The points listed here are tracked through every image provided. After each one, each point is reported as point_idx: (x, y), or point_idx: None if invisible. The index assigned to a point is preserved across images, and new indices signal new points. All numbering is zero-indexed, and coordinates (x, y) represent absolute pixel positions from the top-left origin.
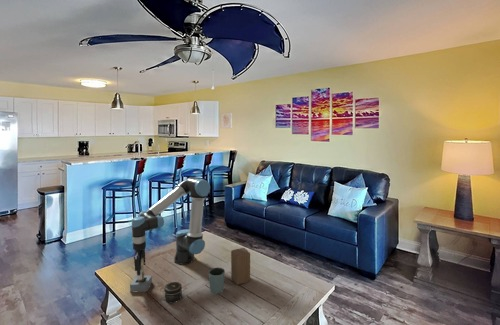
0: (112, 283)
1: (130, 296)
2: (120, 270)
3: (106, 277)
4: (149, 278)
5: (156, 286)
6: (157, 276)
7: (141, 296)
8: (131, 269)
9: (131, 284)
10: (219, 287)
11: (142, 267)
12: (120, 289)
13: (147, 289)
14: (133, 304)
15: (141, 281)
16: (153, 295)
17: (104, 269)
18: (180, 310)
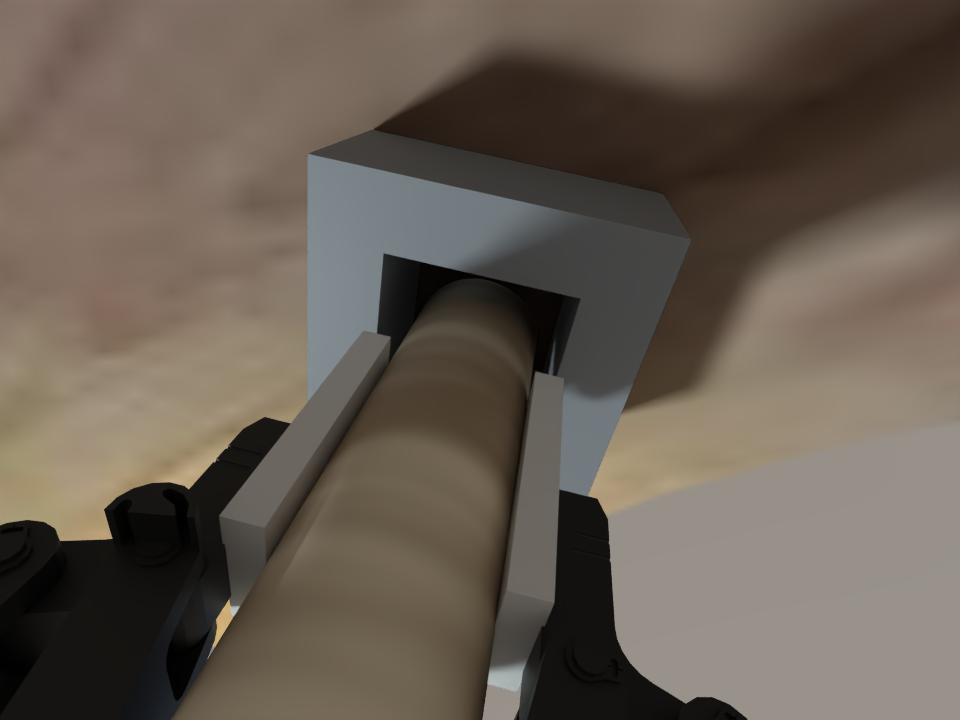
0: None
1: (689, 417)
2: (89, 535)
3: (230, 621)
4: (435, 194)
5: (523, 9)
6: (157, 39)
7: (771, 270)
8: (42, 445)
9: (582, 493)
10: None
11: (440, 599)
12: None
13: (626, 190)
14: (950, 366)
15: (528, 351)
16: (863, 35)
17: None
18: None
